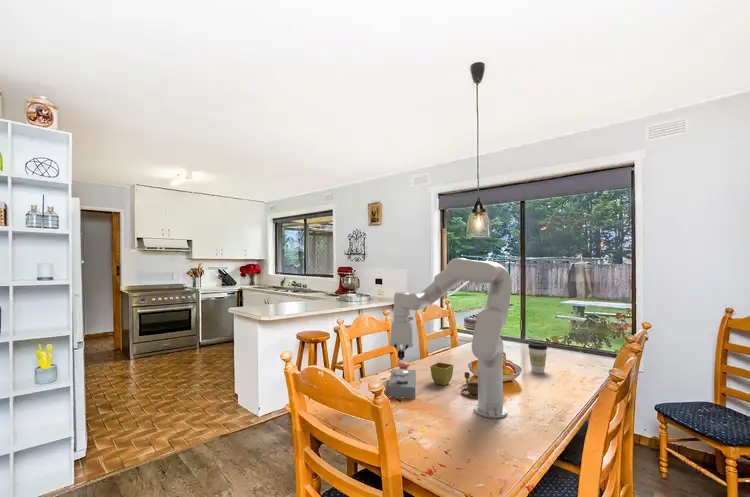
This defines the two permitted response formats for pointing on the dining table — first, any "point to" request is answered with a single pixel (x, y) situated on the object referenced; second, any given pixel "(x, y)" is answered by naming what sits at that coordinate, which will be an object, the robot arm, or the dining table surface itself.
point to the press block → (402, 385)
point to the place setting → (470, 388)
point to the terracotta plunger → (403, 364)
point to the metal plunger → (402, 376)
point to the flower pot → (441, 373)
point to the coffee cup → (537, 356)
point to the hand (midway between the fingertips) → (401, 359)
